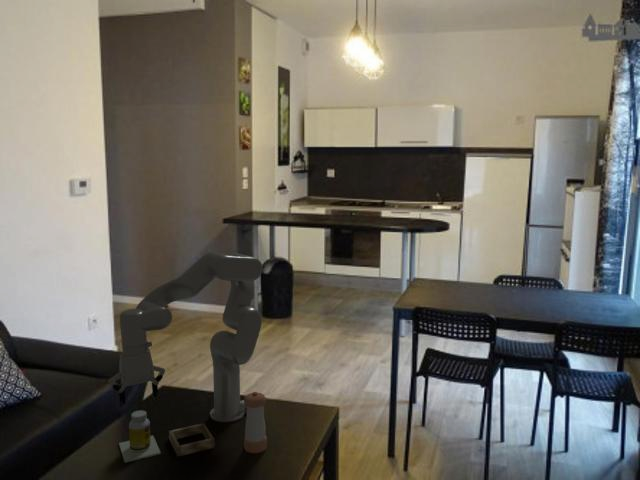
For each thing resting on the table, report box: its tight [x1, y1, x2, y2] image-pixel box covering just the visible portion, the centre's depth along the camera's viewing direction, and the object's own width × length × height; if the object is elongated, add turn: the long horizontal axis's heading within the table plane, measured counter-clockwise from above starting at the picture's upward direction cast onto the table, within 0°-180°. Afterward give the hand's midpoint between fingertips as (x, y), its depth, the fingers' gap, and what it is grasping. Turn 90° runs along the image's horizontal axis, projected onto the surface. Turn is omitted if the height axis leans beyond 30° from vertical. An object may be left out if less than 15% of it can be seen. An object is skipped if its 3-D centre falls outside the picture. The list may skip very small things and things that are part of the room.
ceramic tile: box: [118, 435, 161, 463], centre depth 178 cm, size 11×12×1 cm
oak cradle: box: [168, 422, 216, 457], centre depth 182 cm, size 12×12×3 cm
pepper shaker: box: [243, 391, 268, 454], centre depth 178 cm, size 7×7×19 cm
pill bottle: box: [128, 410, 151, 452], centre depth 177 cm, size 6×6×12 cm
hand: (139, 399), depth 176 cm, fingers open, 9 cm apart
